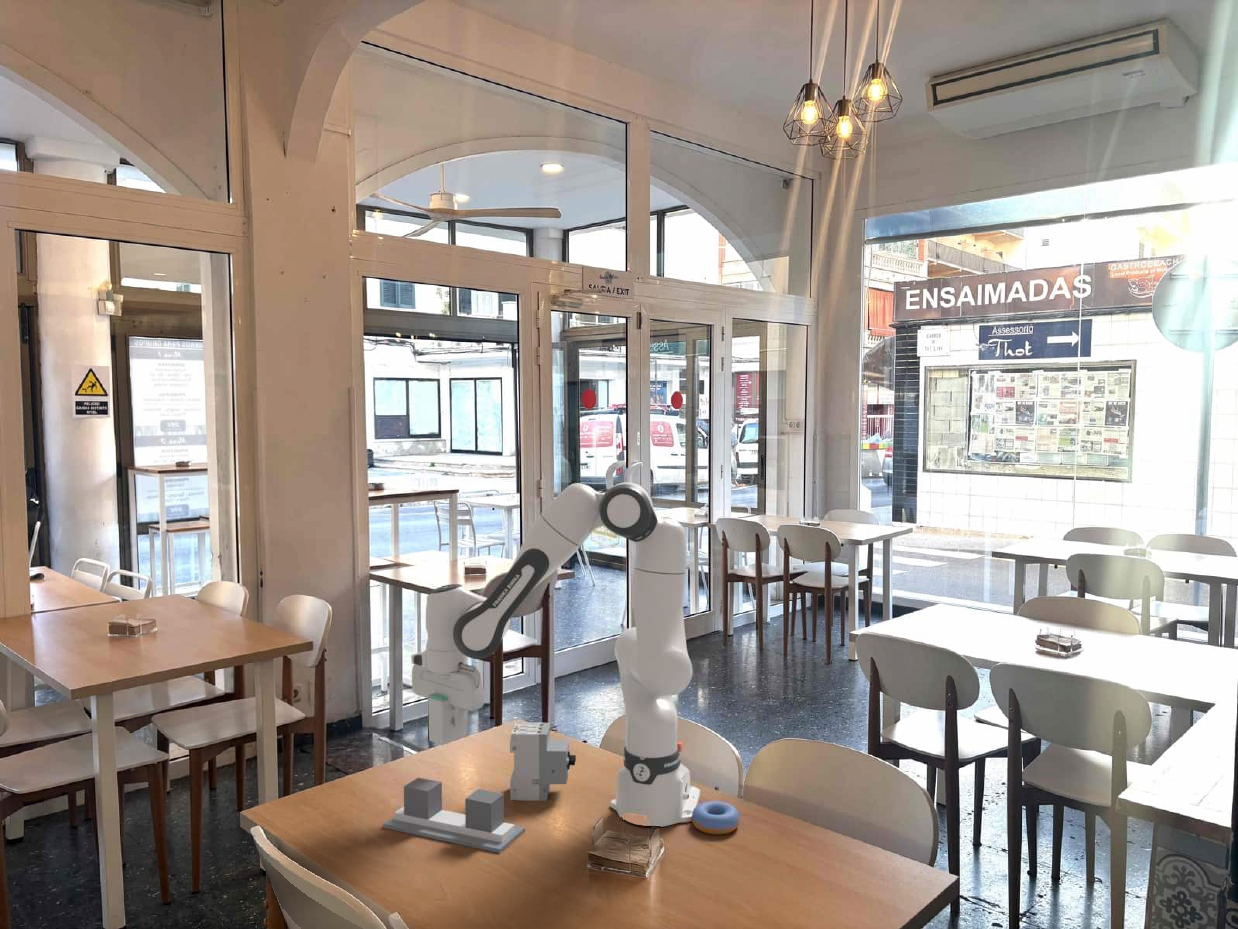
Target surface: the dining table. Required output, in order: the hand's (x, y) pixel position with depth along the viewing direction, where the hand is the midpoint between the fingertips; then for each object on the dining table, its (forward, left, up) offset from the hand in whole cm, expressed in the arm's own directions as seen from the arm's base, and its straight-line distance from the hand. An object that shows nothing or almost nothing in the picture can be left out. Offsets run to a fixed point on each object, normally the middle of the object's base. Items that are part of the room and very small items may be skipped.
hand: (448, 721), depth 194 cm
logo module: (0, 0, -4) cm, 4 cm away
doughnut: (-14, +57, -19) cm, 61 cm away
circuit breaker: (-14, +16, -19) cm, 29 cm away
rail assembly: (+9, +7, -19) cm, 22 cm away
